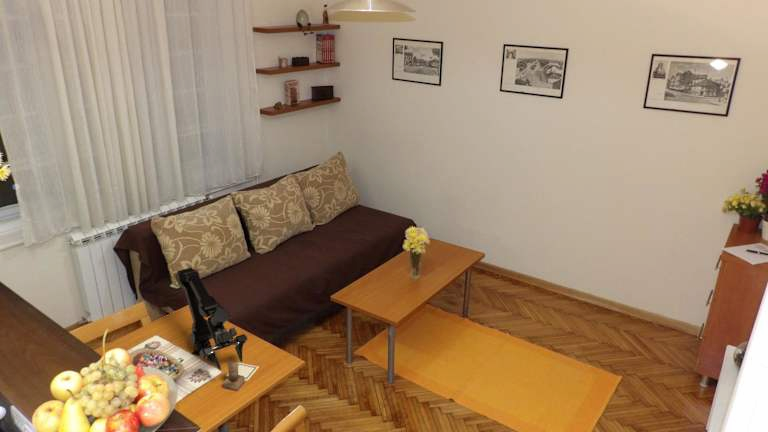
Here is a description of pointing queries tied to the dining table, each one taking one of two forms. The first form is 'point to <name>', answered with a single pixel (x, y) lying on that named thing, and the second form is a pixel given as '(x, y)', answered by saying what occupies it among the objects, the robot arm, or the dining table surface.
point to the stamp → (233, 377)
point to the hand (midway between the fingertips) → (231, 365)
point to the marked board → (246, 370)
